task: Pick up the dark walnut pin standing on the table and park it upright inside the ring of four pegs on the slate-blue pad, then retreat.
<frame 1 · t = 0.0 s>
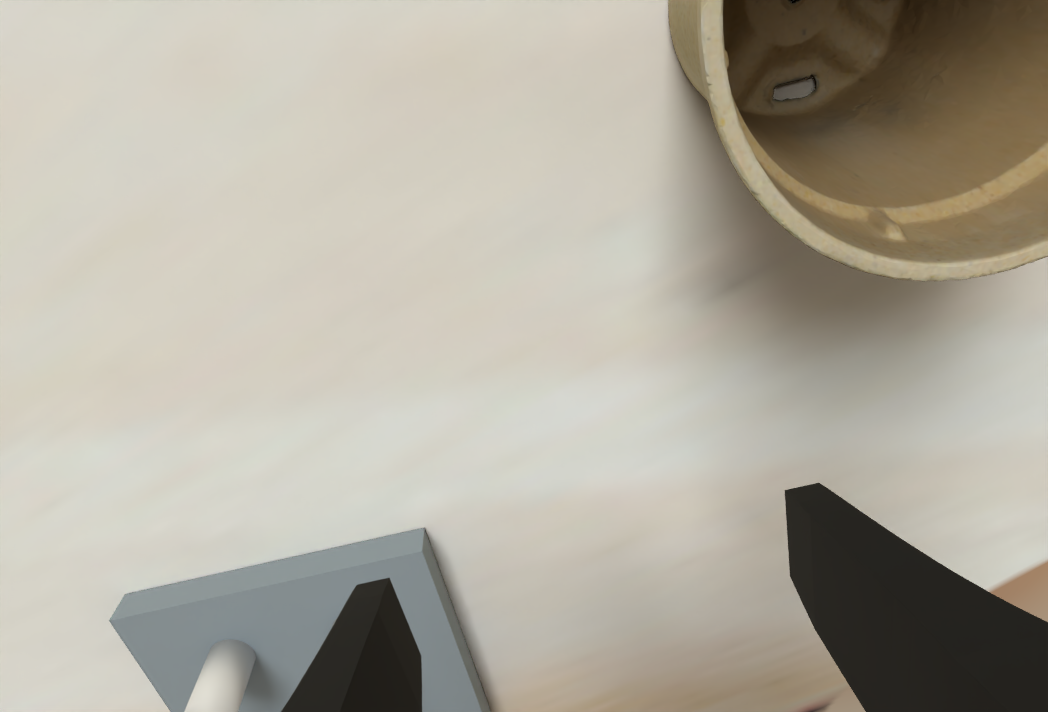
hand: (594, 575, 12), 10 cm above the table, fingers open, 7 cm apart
peg pad: (321, 657, 27), on the table
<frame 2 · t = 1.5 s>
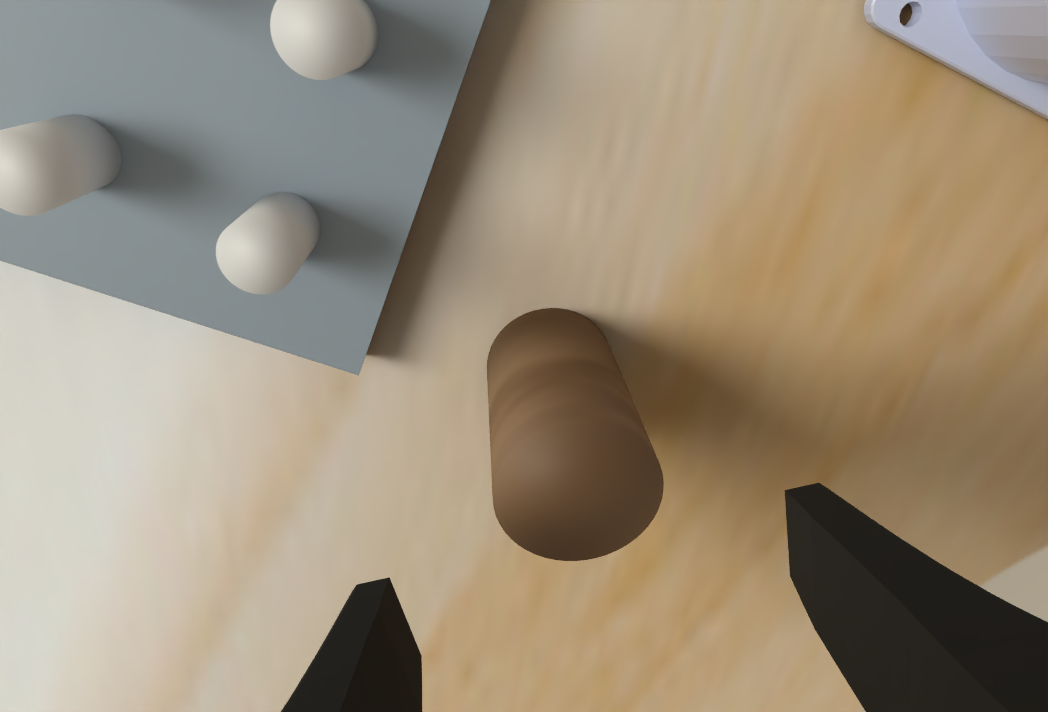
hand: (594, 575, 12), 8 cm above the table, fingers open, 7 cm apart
walnut pin: (549, 366, 20), on the table
peg pad: (226, 88, 16), on the table
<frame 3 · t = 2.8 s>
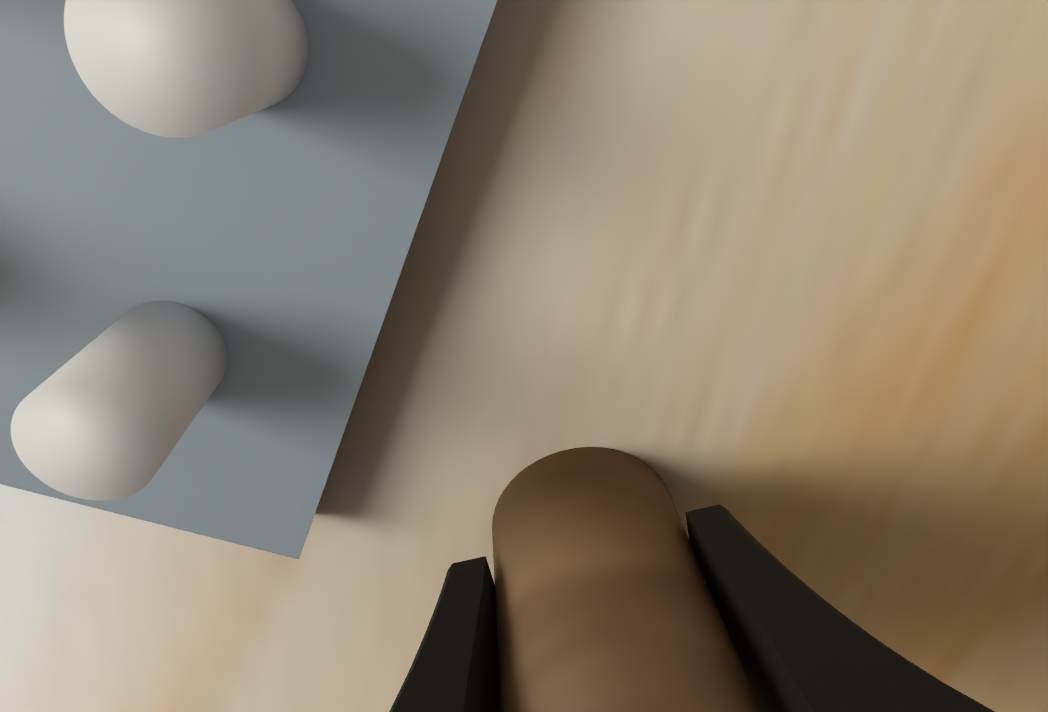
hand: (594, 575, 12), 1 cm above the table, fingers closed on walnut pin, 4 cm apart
walnut pin: (583, 524, 14), on the table, touching gripper
peg pad: (70, 132, 10), on the table
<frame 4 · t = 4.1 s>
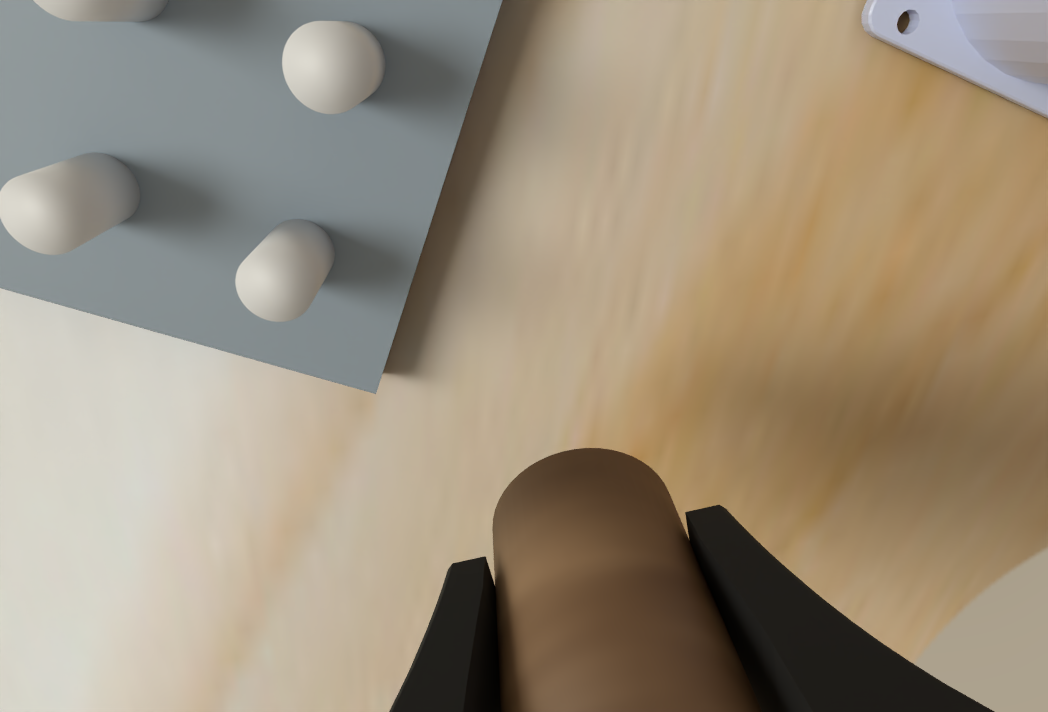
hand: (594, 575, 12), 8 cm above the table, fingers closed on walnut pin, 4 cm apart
walnut pin: (583, 524, 14), point 7 cm above the table, touching gripper
peg pad: (238, 120, 16), on the table
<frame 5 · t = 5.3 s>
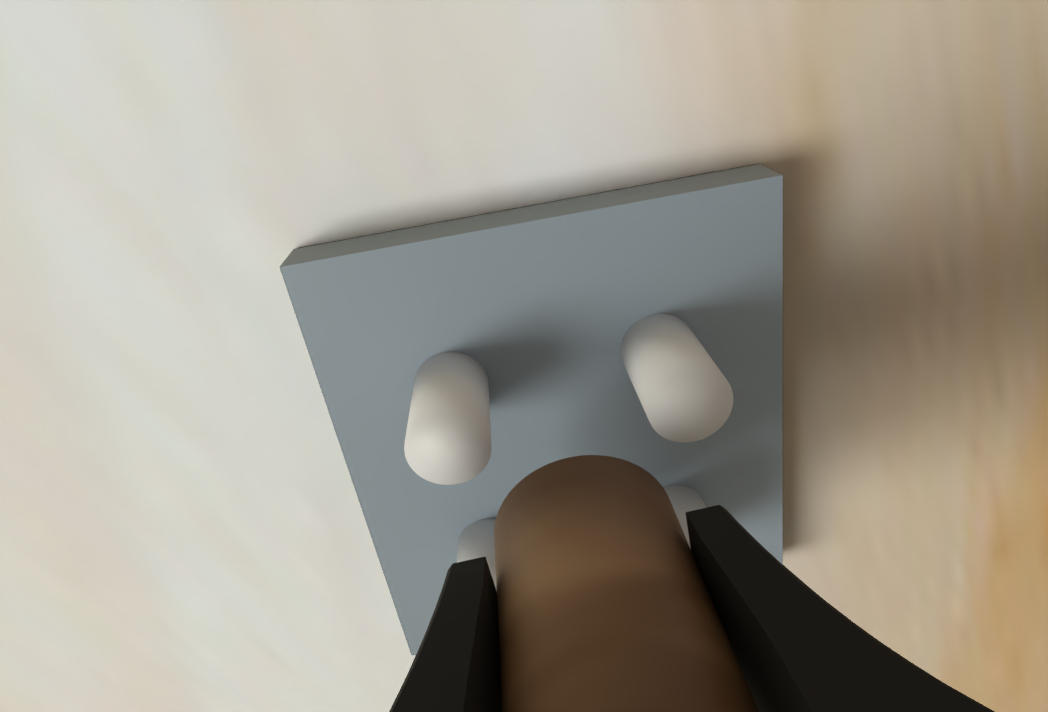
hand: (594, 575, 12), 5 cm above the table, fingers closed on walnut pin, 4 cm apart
walnut pin: (584, 530, 14), point 4 cm above the table, touching gripper
peg pad: (562, 425, 17), on the table
when the fingers open (4 cm above the table, at t = 5.8 s): walnut pin drops 2 cm, resting on peg pad.
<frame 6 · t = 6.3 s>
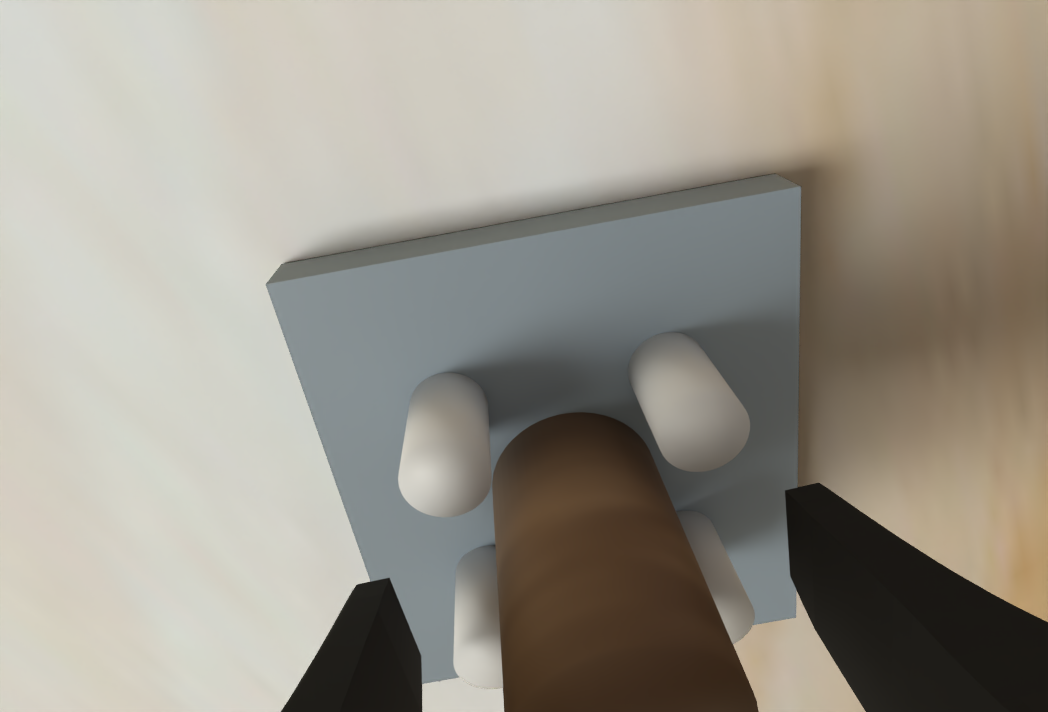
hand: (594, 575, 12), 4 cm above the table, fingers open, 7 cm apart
walnut pin: (574, 483, 15), point 1 cm above the table, touching peg pad
peg pad: (565, 446, 16), on the table
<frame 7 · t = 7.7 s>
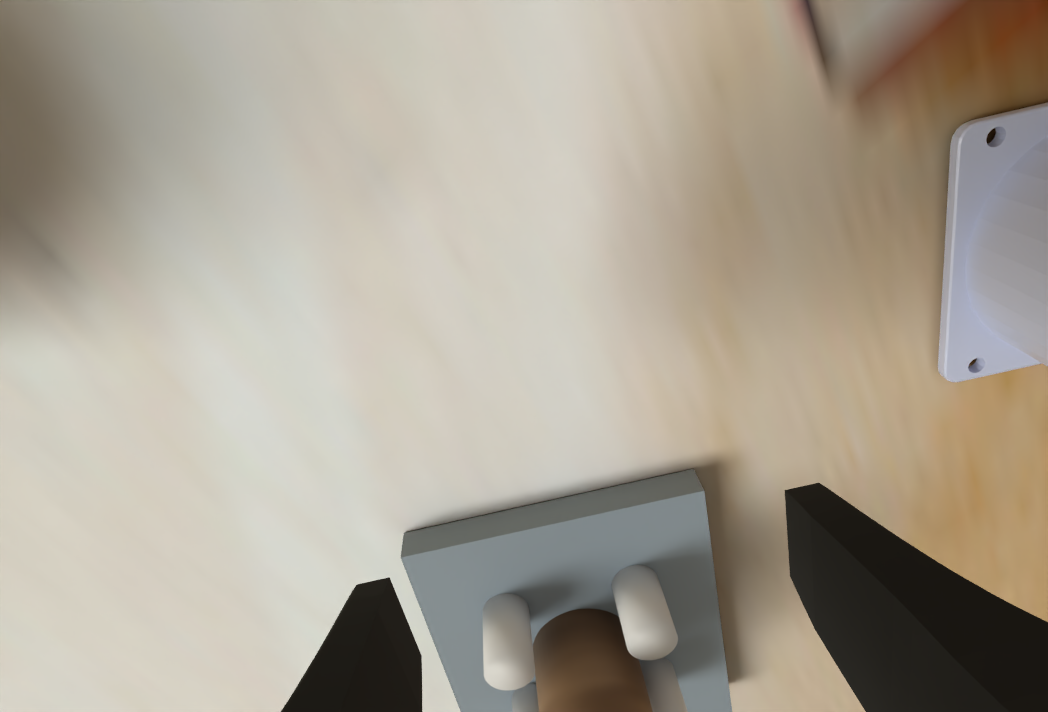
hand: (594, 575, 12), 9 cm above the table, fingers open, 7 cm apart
walnut pin: (582, 646, 25), point 1 cm above the table, touching peg pad
peg pad: (577, 616, 26), on the table
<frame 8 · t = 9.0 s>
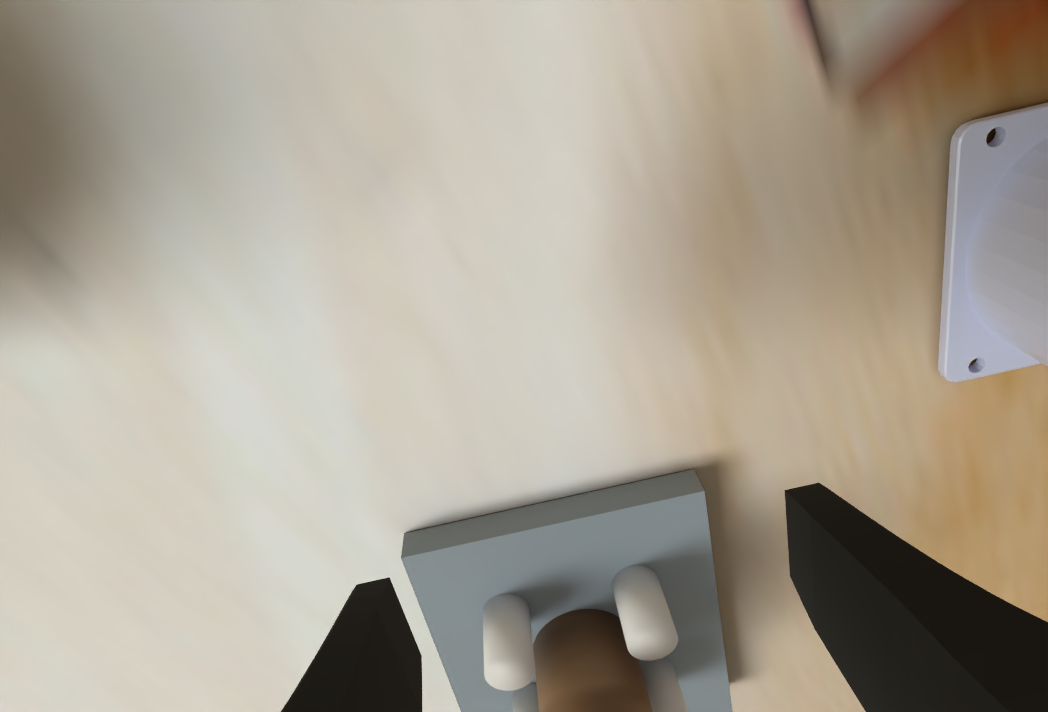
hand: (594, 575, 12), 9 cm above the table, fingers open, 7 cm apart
walnut pin: (583, 646, 25), point 1 cm above the table, touching peg pad
peg pad: (577, 616, 26), on the table
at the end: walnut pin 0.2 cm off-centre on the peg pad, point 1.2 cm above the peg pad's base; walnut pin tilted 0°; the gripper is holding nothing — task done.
